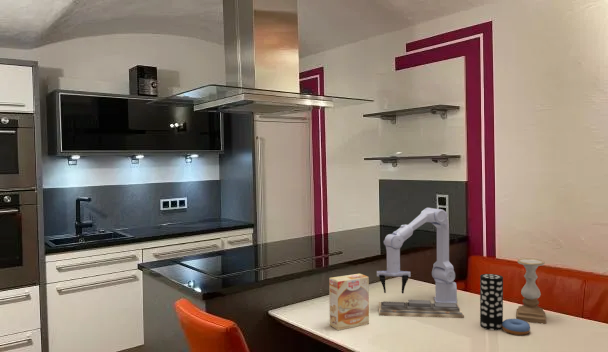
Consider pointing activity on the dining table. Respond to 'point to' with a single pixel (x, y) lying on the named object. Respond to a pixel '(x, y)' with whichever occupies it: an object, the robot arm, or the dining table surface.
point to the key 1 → (394, 304)
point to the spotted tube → (491, 301)
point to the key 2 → (445, 305)
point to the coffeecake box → (349, 301)
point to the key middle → (419, 303)
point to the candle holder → (531, 294)
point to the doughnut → (515, 326)
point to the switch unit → (420, 311)
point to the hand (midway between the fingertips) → (393, 292)
